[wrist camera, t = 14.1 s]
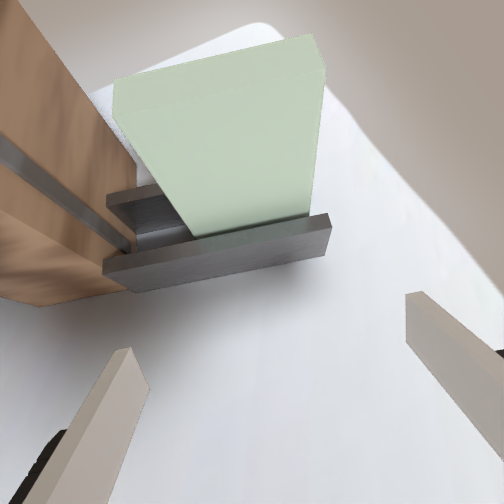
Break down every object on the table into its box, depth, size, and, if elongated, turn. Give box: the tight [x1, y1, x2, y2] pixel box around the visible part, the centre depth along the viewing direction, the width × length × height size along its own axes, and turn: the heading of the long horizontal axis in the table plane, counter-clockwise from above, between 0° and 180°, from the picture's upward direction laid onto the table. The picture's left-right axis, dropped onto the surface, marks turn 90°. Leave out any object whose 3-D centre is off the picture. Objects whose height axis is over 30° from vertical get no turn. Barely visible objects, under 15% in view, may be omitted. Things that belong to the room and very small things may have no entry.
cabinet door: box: [112, 33, 326, 240], centre depth 19 cm, size 9×3×15 cm, turn 99°
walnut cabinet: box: [0, 0, 136, 307], centre depth 20 cm, size 10×15×17 cm, turn 9°
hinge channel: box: [102, 183, 332, 293], centre depth 24 cm, size 16×7×5 cm, turn 99°
